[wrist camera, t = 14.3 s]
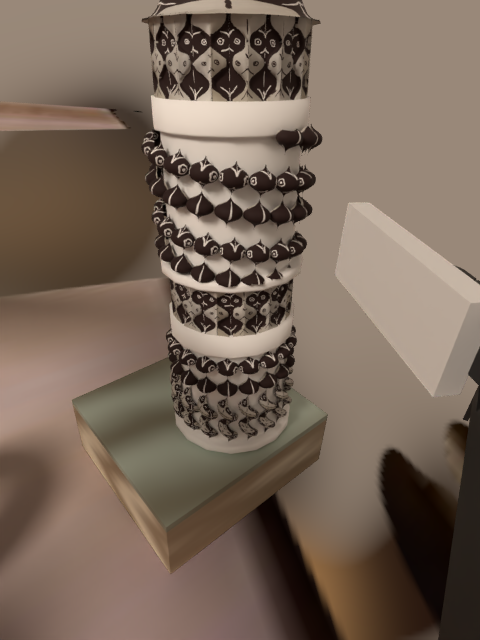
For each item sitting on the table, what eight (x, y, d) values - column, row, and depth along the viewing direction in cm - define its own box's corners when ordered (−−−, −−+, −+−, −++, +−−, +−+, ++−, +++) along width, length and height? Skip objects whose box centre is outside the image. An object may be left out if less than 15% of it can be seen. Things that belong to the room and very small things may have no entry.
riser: (82, 445, 35) (71, 399, 32) (218, 376, 43) (219, 334, 40) (170, 574, 27) (165, 527, 24) (318, 459, 35) (327, 414, 32)
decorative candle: (261, 360, 37) (276, -1, 24) (319, 434, 30) (383, -30, 17) (156, 386, 34) (109, -12, 21) (191, 476, 26) (151, -53, 14)
